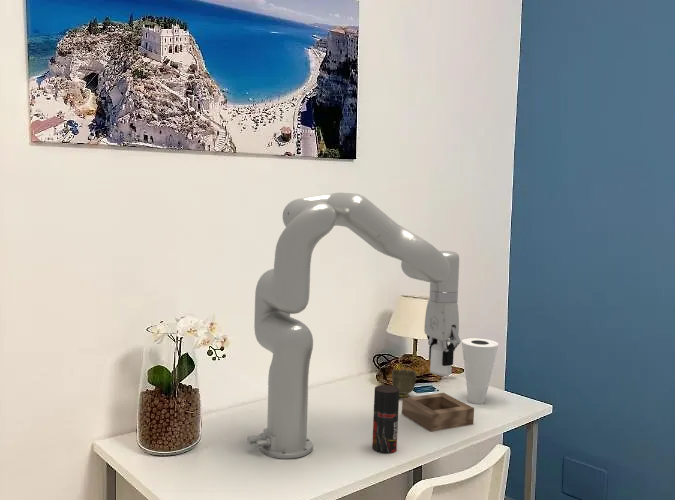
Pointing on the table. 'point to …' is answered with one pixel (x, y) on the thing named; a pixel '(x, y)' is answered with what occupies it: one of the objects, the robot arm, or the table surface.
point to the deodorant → (385, 419)
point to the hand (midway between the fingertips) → (440, 361)
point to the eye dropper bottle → (438, 360)
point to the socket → (437, 411)
